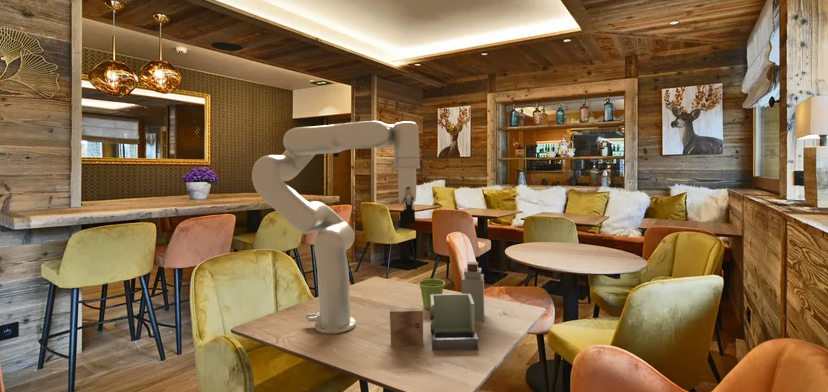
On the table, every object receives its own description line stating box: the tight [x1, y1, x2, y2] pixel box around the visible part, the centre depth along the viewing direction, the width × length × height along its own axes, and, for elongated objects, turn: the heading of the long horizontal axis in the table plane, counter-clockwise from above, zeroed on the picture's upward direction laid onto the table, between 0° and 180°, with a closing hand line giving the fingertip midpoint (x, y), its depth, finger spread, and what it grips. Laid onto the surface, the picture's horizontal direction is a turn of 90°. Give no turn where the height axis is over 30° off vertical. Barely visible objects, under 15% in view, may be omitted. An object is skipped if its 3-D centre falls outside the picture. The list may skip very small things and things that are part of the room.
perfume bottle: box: [460, 261, 485, 323], centre depth 134 cm, size 7×7×18 cm
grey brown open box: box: [429, 306, 479, 352], centre depth 114 cm, size 13×6×11 cm, turn 89°
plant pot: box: [418, 278, 446, 310], centre depth 145 cm, size 9×9×9 cm
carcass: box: [431, 293, 476, 333], centre depth 120 cm, size 12×9×11 cm
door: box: [389, 307, 424, 348], centre depth 115 cm, size 9×3×10 cm, turn 89°
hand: (409, 221), depth 125 cm, fingers open, 9 cm apart
